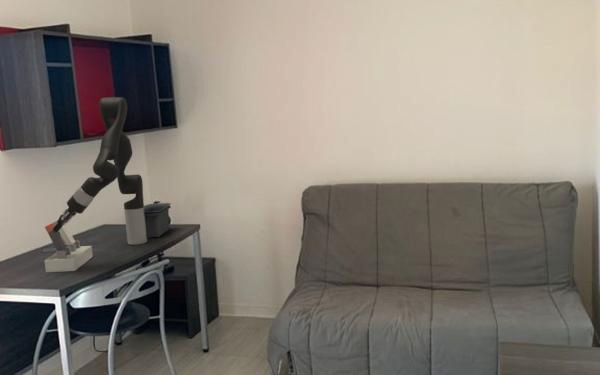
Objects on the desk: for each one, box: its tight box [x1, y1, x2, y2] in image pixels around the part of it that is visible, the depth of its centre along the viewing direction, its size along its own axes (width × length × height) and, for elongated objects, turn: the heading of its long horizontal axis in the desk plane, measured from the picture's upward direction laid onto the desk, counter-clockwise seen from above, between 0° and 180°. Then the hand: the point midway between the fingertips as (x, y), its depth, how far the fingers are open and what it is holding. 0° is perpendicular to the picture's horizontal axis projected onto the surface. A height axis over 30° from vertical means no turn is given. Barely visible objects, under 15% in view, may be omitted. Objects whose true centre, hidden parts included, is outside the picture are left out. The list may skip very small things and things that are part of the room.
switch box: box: [44, 240, 94, 273], centre depth 259 cm, size 22×12×8 cm, turn 0°
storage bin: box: [144, 202, 172, 239], centre depth 308 cm, size 21×16×14 cm
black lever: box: [44, 222, 68, 255], centre depth 252 cm, size 4×2×14 cm, turn 0°
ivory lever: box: [52, 219, 77, 248], centre depth 263 cm, size 4×2×14 cm, turn 0°
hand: (55, 230), depth 251 cm, fingers closed
